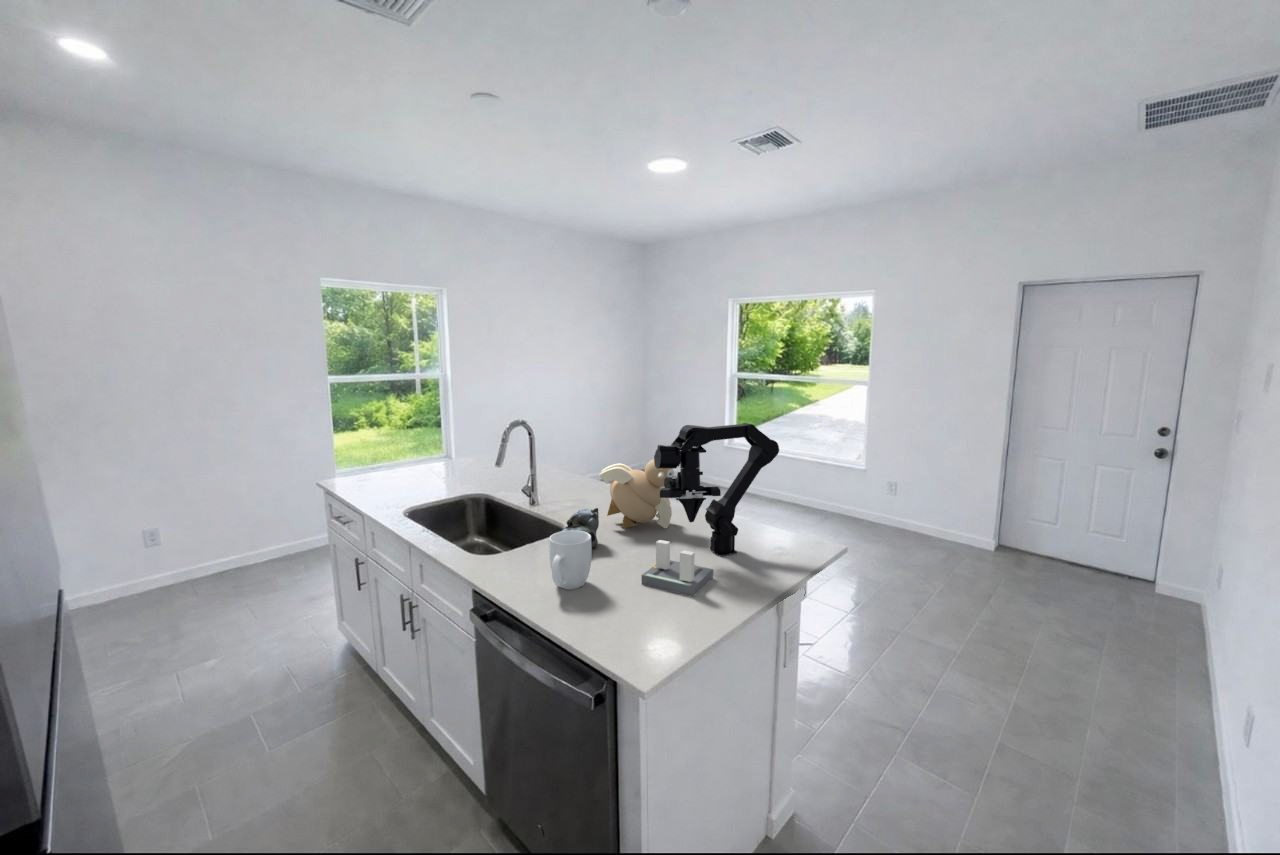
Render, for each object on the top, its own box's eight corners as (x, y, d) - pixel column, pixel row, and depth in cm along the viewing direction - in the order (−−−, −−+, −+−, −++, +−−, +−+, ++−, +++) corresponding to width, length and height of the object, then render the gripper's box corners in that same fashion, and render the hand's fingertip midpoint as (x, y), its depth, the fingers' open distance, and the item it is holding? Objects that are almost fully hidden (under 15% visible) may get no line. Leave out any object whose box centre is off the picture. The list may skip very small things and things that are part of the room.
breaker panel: (664, 567, 154) (664, 558, 154) (713, 577, 147) (713, 568, 146) (641, 583, 143) (641, 574, 143) (693, 596, 136) (693, 586, 135)
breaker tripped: (659, 564, 148) (659, 539, 147) (669, 567, 147) (670, 541, 146) (656, 567, 147) (656, 542, 146) (666, 569, 145) (666, 544, 144)
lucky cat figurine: (548, 545, 172) (558, 502, 176) (580, 553, 178) (589, 511, 182) (569, 544, 160) (579, 499, 164) (603, 553, 166) (612, 509, 170)
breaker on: (682, 576, 140) (683, 550, 139) (694, 579, 139) (694, 552, 138) (679, 579, 139) (679, 552, 138) (690, 582, 137) (691, 555, 136)
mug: (575, 602, 132) (574, 551, 130) (535, 596, 136) (533, 546, 134) (598, 578, 146) (597, 532, 145) (561, 573, 150) (560, 528, 148)
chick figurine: (635, 437, 177) (636, 428, 199) (579, 499, 180) (587, 483, 202) (702, 496, 179) (696, 481, 201) (646, 557, 182) (646, 535, 205)
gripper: (697, 468, 170) (698, 518, 169) (648, 469, 160) (649, 522, 159) (721, 468, 161) (722, 520, 160) (670, 468, 151) (672, 524, 149)
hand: (691, 522), depth 157 cm, fingers closed
